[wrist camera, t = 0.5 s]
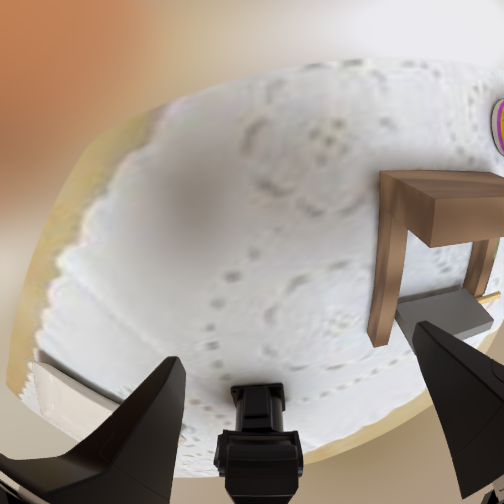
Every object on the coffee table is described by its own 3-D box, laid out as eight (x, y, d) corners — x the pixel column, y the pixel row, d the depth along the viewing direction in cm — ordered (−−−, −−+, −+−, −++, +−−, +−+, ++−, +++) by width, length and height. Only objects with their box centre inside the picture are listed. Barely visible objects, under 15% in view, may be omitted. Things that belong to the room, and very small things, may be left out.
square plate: (46, 404, 41) (40, 416, 38) (41, 344, 31) (30, 361, 28) (148, 456, 48) (145, 469, 44) (191, 423, 37) (188, 442, 34)
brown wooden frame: (477, 304, 26) (509, 343, 19) (367, 332, 27) (390, 389, 20) (505, 173, 18) (556, 197, 11) (379, 171, 20) (435, 199, 12)
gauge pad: (488, 289, 24) (515, 317, 18) (392, 313, 25) (415, 355, 19) (491, 280, 23) (518, 309, 18) (393, 304, 24) (418, 346, 19)
